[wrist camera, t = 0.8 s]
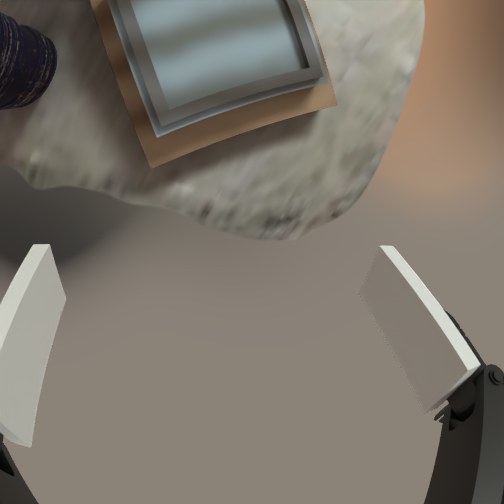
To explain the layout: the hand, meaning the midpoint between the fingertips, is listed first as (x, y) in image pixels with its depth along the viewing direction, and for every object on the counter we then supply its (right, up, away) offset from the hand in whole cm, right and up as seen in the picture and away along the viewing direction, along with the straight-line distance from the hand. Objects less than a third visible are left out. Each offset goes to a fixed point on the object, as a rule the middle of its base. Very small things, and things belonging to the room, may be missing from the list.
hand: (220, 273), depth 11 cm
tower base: (-4, +25, +17) cm, 30 cm away
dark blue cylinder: (-26, +23, +12) cm, 36 cm away
